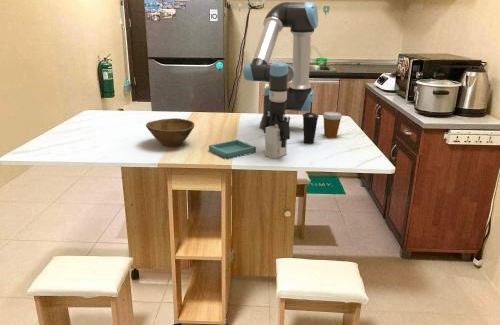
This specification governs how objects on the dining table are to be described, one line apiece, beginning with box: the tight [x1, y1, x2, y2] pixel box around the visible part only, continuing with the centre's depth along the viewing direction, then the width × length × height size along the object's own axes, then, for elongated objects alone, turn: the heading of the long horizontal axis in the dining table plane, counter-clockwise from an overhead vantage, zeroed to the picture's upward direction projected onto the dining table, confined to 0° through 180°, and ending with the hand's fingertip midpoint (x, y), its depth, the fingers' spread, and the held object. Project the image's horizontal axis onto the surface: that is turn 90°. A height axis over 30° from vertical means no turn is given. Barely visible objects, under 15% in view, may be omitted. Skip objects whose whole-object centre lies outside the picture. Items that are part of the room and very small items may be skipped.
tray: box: [208, 139, 257, 160], centre depth 183 cm, size 14×16×3 cm
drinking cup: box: [302, 102, 319, 145], centre depth 196 cm, size 8×8×20 cm
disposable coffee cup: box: [322, 111, 343, 139], centre depth 208 cm, size 10×10×12 cm
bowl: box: [145, 117, 195, 147], centre depth 192 cm, size 22×23×10 cm
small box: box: [264, 124, 288, 160], centre depth 178 cm, size 8×6×13 cm
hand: (275, 151), depth 180 cm, fingers closed on small box, 7 cm apart
